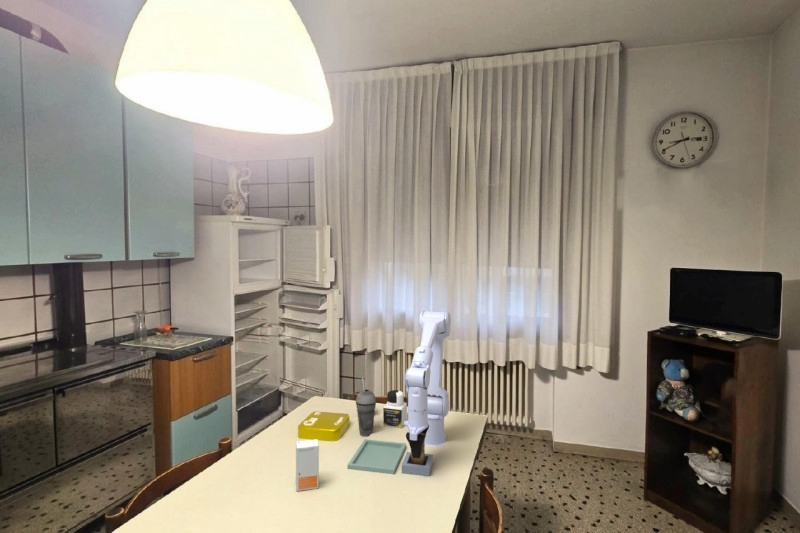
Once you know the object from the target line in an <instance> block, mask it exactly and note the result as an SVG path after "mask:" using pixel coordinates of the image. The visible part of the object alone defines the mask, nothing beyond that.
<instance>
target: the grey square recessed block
mask: <svg viewBox="0 0 800 533" xmlns="http://www.w3.org/2000/svg"><path fill="white" fill-rule="evenodd" d="M433 465H434V454H433V453H432V454H430V453H425V465H417V464H411V451H407V452H406V454H405V456H404V458H403V461H402V463H401V474H404V475H413V476H420V477H421V476H422V477H430V476H431V472H432V468H433Z"/></svg>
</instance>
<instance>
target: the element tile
mask: <svg viewBox="0 0 800 533" xmlns="http://www.w3.org/2000/svg"><path fill="white" fill-rule="evenodd" d="M349 427H350V415H349V414H348V413H342V412H341V413H340V412H328V411H313V412H311V413H310V414H308V415H307V416H306V418H305V419H303V420H302V421H301V422H300V423H299V424H298V426H297V436H298V437H297V438H298V439H301V440H316V439H318V441H322V442H338V441H339V440H341V438H342V436H344V434H345V433H346V432H347V430H348V429H349Z"/></svg>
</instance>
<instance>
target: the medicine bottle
mask: <svg viewBox="0 0 800 533" xmlns="http://www.w3.org/2000/svg"><path fill="white" fill-rule="evenodd" d="M382 410H383V416H382V417H383V420H382V422H383V424H382V425H383V427H390V428H398V429H399V428H400V429H402V428H403V427H404V426H405V425H404V422H405V421H408V402H405V401H404V392H402V391H401V390H398V389H394V390H390V391H388V392H387V393H386V404H385V405H384V406H383V409H382Z"/></svg>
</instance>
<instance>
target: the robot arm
mask: <svg viewBox="0 0 800 533" xmlns="http://www.w3.org/2000/svg"><path fill="white" fill-rule="evenodd" d="M451 320H452V317H451V313H450V312H449V311H434V310H433V311H431V310H424V309H423V310H422V311H421V312H420V314H419V320H418V323H419V327H420V330H421V331H422V332H421V338H420V339H421V340H420V346H418V347H416V349H415V350H414V355H413V357H412V361H411V364H410V367H409V368H407V369H406V371H405V376H404V377H405V378H404V379H405V380H404V384H405V387H406V388H405V390H406V393H407V421H405V422H404V425H403V426H405V427H407V428H408V431H409V432H408V431H407V432H406V434H405V438H406V440H407V442H408V444H409V447H410V452H411V453H412V457H413V458H420V456H421V450H422V444H423V441H424V439H425V446H434V447H442V448H443V447H445V443H446V440H447V436H448V435H447V434H446V433H445V417H447V416H448V414H449V410H450V400H449V398H450V396H449V392H448V391H447V390H446V389H445V388H444V387H443V386H442V376H443V374H442V373H443V360H444V358H443V357H444V344H445V343H444V342H445V338H447V337H449V336H450V333H451V323H452V321H451ZM420 432H422V433H424V434H425V435H420V434H419V433H420Z"/></svg>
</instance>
